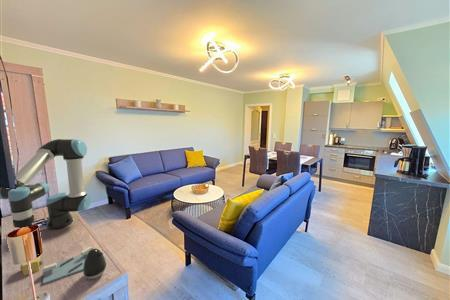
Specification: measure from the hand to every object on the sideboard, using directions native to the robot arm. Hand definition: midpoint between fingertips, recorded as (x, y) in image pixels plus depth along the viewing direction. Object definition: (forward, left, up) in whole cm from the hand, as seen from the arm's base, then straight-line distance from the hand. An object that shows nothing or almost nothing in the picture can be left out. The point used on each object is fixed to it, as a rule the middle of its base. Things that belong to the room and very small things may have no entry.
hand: (29, 253), depth 103 cm
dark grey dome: (+22, +28, -11) cm, 37 cm away
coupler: (0, 0, -10) cm, 10 cm away
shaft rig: (+9, +17, -10) cm, 22 cm away
